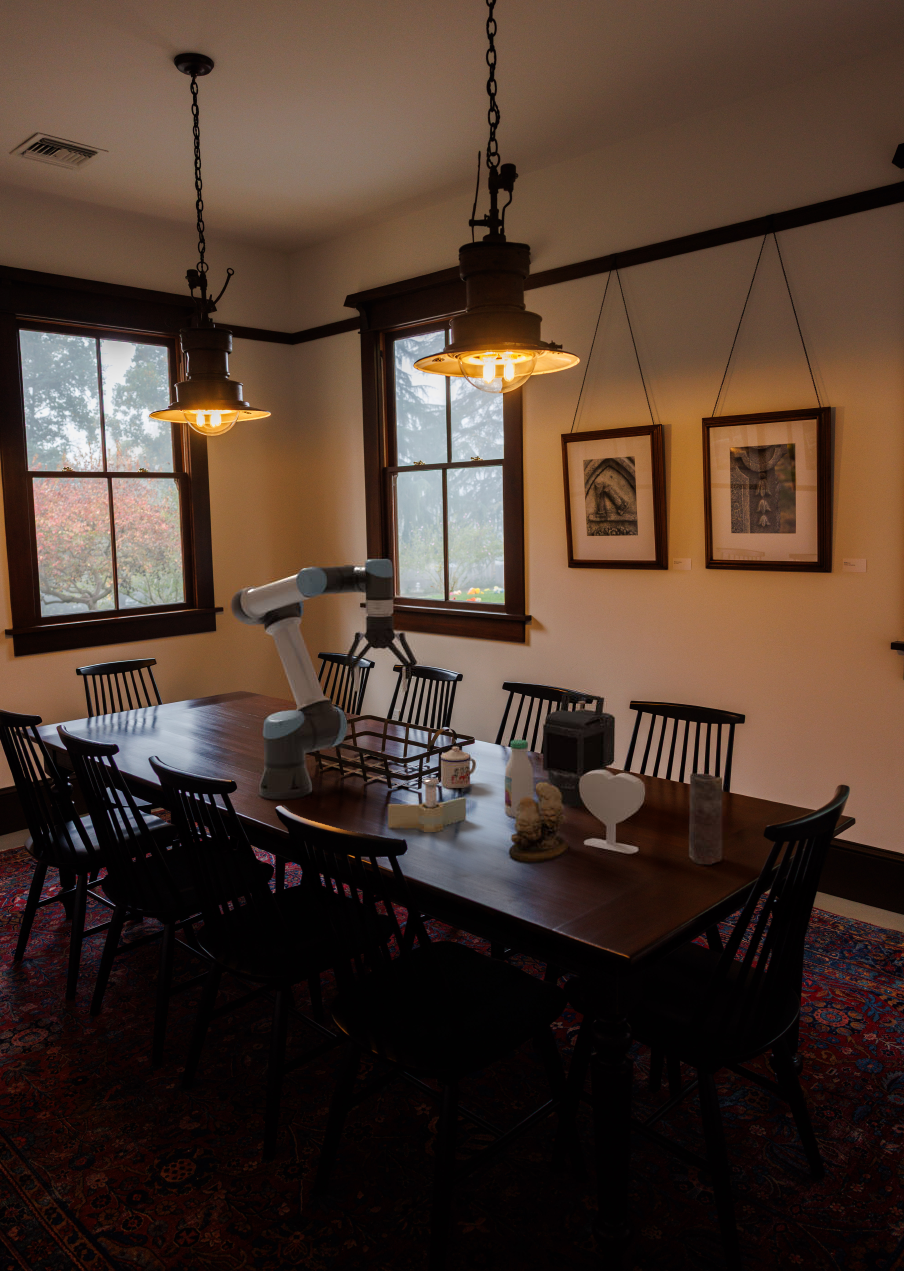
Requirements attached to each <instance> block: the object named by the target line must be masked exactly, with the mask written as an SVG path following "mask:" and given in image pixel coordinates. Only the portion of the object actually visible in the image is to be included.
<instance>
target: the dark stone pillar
mask: <svg viewBox="0 0 904 1271" xmlns="http://www.w3.org/2000/svg"><path fill="white" fill-rule="evenodd" d="M688 830H689V833H688V834H689V835H688V847H689V848H688V856H689V858H690V859H691V860H692V861H693V863H694V864H695V863H696V864H697V865H713V864H714V863H718V862H721V860H722V859H723V778H722V777H719V776H715V775H712V774H709V773H704V774H703V773H690V776H689V829H688Z"/></svg>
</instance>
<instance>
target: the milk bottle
mask: <svg viewBox="0 0 904 1271" xmlns="http://www.w3.org/2000/svg"><path fill="white" fill-rule="evenodd" d="M528 747H529V743H528V741H527V740H525V739H513V740H511V741H510V750H511V751H510V752H511V753H510V757H509V760H507V761H508V762H507V764H506V766H505V772H504V813H505V815H506V816H509V817H512V818H516V813H517V807H518V805H519V803H520V799H521V798H523V797H529V798H532V799H533V800H534V792H535V791H534V784H535V783H534V769H533V765H532V762H531V761H530V759H529V756H528V750H529V749H528Z"/></svg>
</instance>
